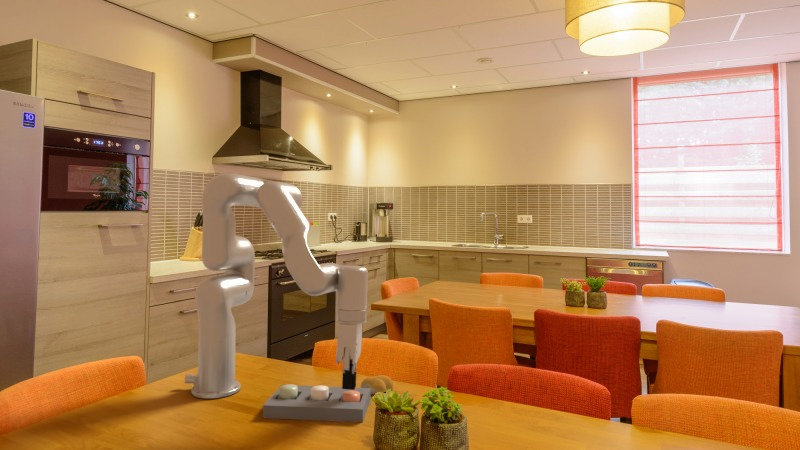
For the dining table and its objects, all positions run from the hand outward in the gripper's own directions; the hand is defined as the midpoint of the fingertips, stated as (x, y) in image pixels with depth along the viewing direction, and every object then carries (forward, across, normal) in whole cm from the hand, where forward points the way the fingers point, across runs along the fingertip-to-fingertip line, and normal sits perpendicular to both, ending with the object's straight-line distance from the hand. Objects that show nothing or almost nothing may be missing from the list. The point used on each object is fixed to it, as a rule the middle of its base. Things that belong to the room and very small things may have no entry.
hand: (349, 388), depth 116 cm
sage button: (+4, 0, -15) cm, 16 cm away
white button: (+4, 0, -7) cm, 8 cm away
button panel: (+6, 0, -7) cm, 9 cm away
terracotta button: (+5, 0, +1) cm, 5 cm away
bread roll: (+6, -15, +6) cm, 17 cm away
